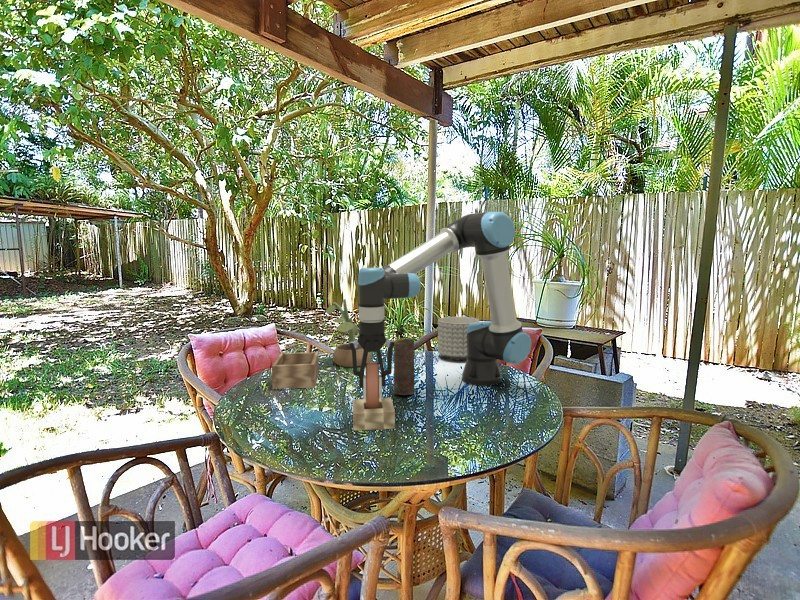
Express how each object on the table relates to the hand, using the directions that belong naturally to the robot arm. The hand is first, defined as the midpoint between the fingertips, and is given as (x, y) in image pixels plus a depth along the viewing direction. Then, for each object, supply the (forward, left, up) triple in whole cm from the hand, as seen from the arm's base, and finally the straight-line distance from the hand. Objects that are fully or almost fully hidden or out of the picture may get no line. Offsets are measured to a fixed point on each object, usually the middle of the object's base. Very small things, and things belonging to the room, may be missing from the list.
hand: (372, 397), depth 134 cm
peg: (0, 0, -4) cm, 4 cm away
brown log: (-12, -23, -8) cm, 27 cm away
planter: (-43, -71, -8) cm, 83 cm away
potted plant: (+8, -66, -8) cm, 67 cm away
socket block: (0, 0, -8) cm, 8 cm away
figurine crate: (+28, -44, -8) cm, 53 cm away
